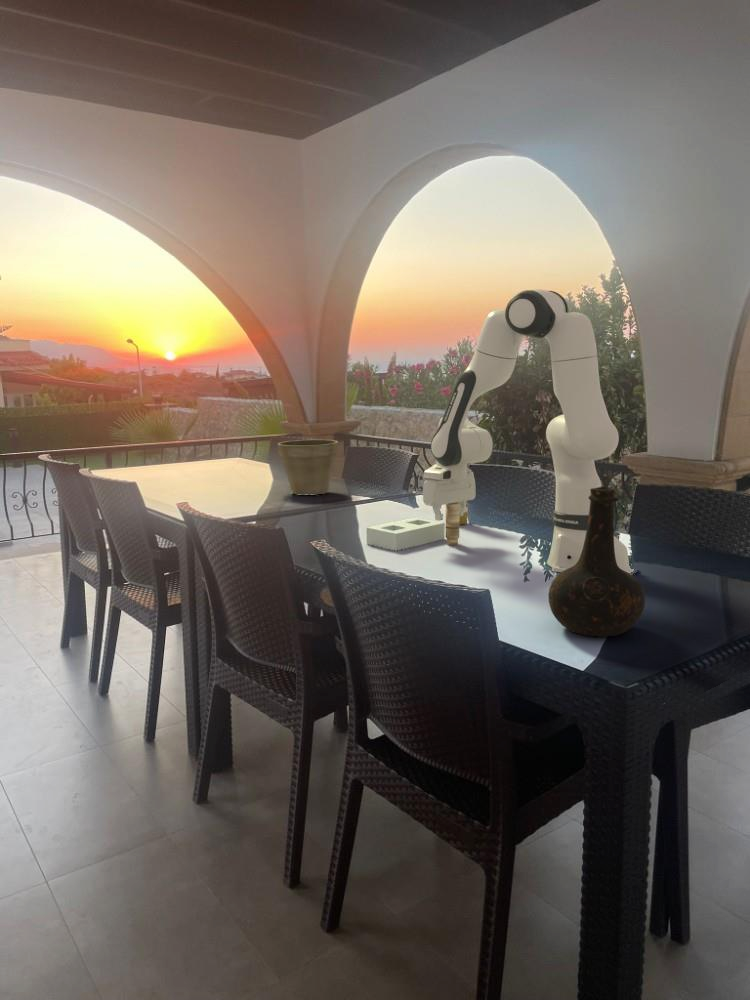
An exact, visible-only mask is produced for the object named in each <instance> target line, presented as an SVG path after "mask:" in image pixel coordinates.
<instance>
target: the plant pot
mask: <svg viewBox="0 0 750 1000" xmlns="http://www.w3.org/2000/svg"><path fill="white" fill-rule="evenodd" d="M277 449H278V450H277V451H278V456H280V457H281V461H282V465H283V468H284V470H285V471H284V472H285V474H286V477H287V480H288V484H289V486H290V490H291V492H292V494H293V493H294V494H308V495H310V494H323V493H326V494H327V493H328V491H329V488H330V482H331V478H332V474H333V469H334V466H335V460H336V455H337V454H338V453H339V441H338V440H336V439H335V440H334V439H299V440H298V439H297V440H289V441H288V440H286V441H281V442H278V443H277ZM294 494H293V495H294ZM323 495H324V494H323Z"/></svg>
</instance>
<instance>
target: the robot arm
mask: <svg viewBox="0 0 750 1000" xmlns="http://www.w3.org/2000/svg"><path fill="white" fill-rule="evenodd" d="M594 332H595V331H594V329H593V325H592V322H591V319H590V318H589V317H588V316H587V315H586V314H584V313H582V312H577V311H576V312H575V311H572V312H569V305H568V302H567V301H566V299H565V297H563V296H562V295H561V294H560V293H558V292H556V291H553V290H546V289H541V288H539V289H538V288H536V289H529V290H522V291H520V292H518V293H517V294H514V295H513V296H512V297H511V298H510V300H509V301H508V303H507V305H506V307H505V309H502V308H501V309H496V310H493V311H491V312H489V314H488V315H487V316H486V317H485V320H484V322H483V325H482V327H481V329H480V332H479V335H478V338H477V341H476V346H475V348H474V349H475V350H474V353H473V355H472V358H471V359H470V362H469V364H468V366H467V368H466V369H465V370H464V371H463V372H462V373H461V374H460V375H459V377H458V378H457V380H456V382H455V384H454V387H453V388H452V389H453V390H452V391H451V392H452V393H451V394H450V397H449V400H448V402H447V405H446V408H445V411H444V413H443V416H442V417H441V418H440V419H439V422H438V428H437V429H436V431H435V432H434V434H433V437H432V438H431V441H430V442H431V443H430V452H431V455H432V457H433V458H434V460H435V464H433V465H432V466H430V467H429V468H428V469H426V470H424V472H423V478H425V480H424V482H423V485H422V487H423V489H422V500H423V503H424V505H425V506H427V507H428V506H429V507H432V511H433V513H434V519H435V520H434V521H438V522H440V521H442V520H444V514H443V513H442V511H441V509H442V506H444V505H445V506H446V504H450V503H456V502H458V503H459V504H460V516H463V513H464V509H465V507H466V504H467V501H473V500H474V499H475V497H476V496H477V495H476V479H475V476H474V474H475V473H474V471H473V470H472V469H471V468H468V469H467V463H468V464H474V463H477V464H478V463H483V462H486V461H487V460H489V459H490V458H491V456H492V455H493V451H494V447H495V444H494V443H495V442H494V438H493V436H492V434H491V433H490V431H489V430H488V429H486V428H482V427H480V426H478V425H476V424H474V423H473V422H471V421H470V420H469V418H468V414H469V412H470V408H471V406H472V404H473V403H474V402H475V400H477V398H479V397H480V396H481V395H484V394H485V393H487V392H489V391H491V390H494V389H497V388H498V387H501V386H502V385H504V384H505V383H507V382H508V380H510V378H511V376H512V374H513V372H514V370H515V367H516V362H517V357H518V354H519V351H520V347H521V344H522V342H523V340H524V338H526V337H532V338H537V339H543V338H544V339H546V341H547V342H548V343H547V344H548V345H549V349H550V352H549V353H550V361H551V362H550V363H551V373H552V385H553V392H554V395H555V397H556V398H557V400H558V403H559V405H560V408H561V411H562V414H560V415H557V416H555V417H554V418H552V419H551V420H550V421H549V422H548V424H547V427H546V428H545V429H546V430H545V437H546V438H545V439H546V441H547V443H548V445H549V448H550V451H551V458H552V463H553V468H554V470H553V471H554V474H555V503H554V505H555V509H554V510H553V517H552V528H553V533H552V534H553V535H552V540H551V541H552V543H551V546H550V552H549V555H548V558H547V561H546V564H547V566H549V567H550V568H551V569H552V571H553V572H557V573H561V572H562V571H564V570H566V569H568V568H570V567H572V566H574V565H575V564H576V563H577V562H578V560H579V558H580V555H581V552H582V549H583V545H584V541H585V536H586V531H587V525H588V517H589V509H590V500H589V498H588V497H589V496H590V495H591V491H590V489H591V488H598V487H602V481H601V479H600V476H599V475H598V472H597V469H596V464H595V461H599V460H602V459H606V458H608V457H610V456H611V455H612V454H614V453H615V451H616V449H617V447H618V444H619V441H620V436H619V431H618V429H617V427H616V426H615V425H614V423H613V422H612V420H611V418H610V415H609V413H608V409H607V406H606V404H605V400H604V397H603V393H602V388H601V383H600V373H599V372H600V371H599V370H600V369H599V360H598V351H597V350H598V349H597V342H596V336H595V333H594ZM614 550H615V558H616V562H617V565H618V567H619V568H620V569H622V570H624V571H626V572H628V573H631V572H633V571H634V569H631V568H630V566H629V564H630V561H629V560H630V559H629V553H628V548H627V546H626V545H625V544H624V543H623V542H622V541H621V540H619V538H618V537H616V536H615V535H614Z"/></svg>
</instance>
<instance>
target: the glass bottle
mask: <svg viewBox="0 0 750 1000" xmlns="http://www.w3.org/2000/svg"><path fill="white" fill-rule="evenodd" d="M590 491H591V495H590V496H589V497H588V498H589V500H590V509H589V517H588V525H587V531H586V536H585V541H584V545H583V549H582V552H581V555H580V558H579V560H578V562H577V563H576V564H575V565H574V566H572V567H570V568H568V569H566V570H564V571H562V572H559V573H558V574H557V575H556V576H555V577H554V579H553V580H552V582H551V584H550V586H549V589H548V595H547V596H548V604H549V607H550V611H551V613H552V614H553V616H554V618H555V619H556V621H557V622H558V623H559V624H560V625H561V626H562V627H564V628H565V629H567V630H568V631H571V632H572V633H576V634H579V635H582V634H583V635H584V636H587V635H588V636H587V637H594V636H596V637H597V638H604V637H605V638H607V637H608V636H610V637H616V636H618V635H619V636H620V635H622V634H623V633H625V632H627V631H628V630H630V628H633V626H634V625H635V624H636V623H637V622H638V621H639V619H640V618H641V616H642V614H643V612H644V609H645V606H646V594H645V591H644V589H643V586H642V585H641V583H640V581H638V579H637V578H636V577H635V576H634V575H631V574H629V573H628V572H626V571H624V570H622V569H620V568H619V567H618V565H617V562H616V558H615V550H614V536H615V535H614V533H615V532H614V527H615V525H614V524H615V523H614V522H615V521H614V517H615V515H614V513H615V512H614V511H615V502H618V501H620V498H619V497H617V496H615V493H616V489H615V488H612V487H608V486H607V487H606V486H601V487H598V488H591V489H590Z"/></svg>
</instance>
